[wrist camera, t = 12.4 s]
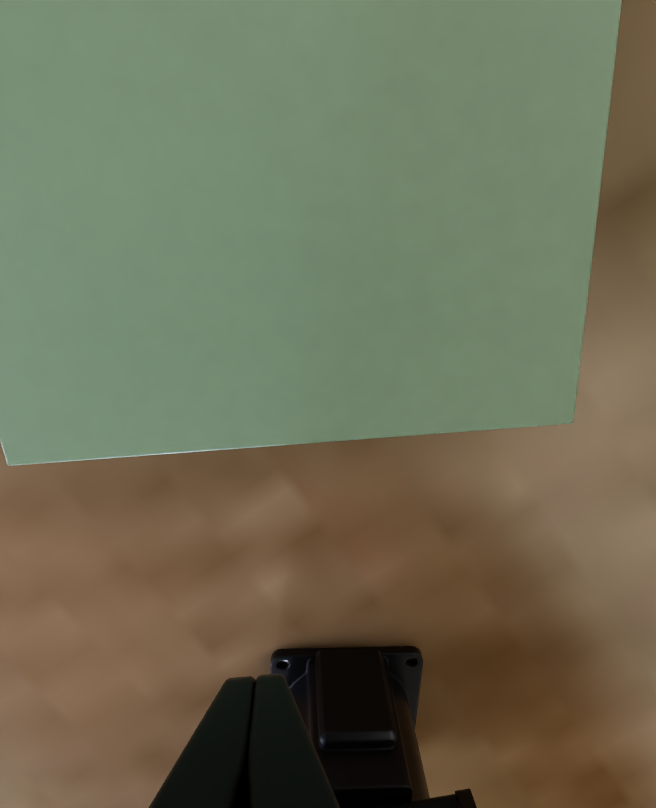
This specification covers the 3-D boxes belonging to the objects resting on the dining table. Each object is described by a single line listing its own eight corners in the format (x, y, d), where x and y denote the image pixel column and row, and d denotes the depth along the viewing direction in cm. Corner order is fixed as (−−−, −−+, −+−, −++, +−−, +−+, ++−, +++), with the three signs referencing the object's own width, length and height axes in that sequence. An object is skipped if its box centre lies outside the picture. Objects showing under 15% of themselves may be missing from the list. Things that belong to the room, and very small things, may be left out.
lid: (-202, -322, 9) (-238, -358, 9) (642, -347, 10) (667, -383, 9) (19, 453, 15) (6, 466, 14) (561, 412, 15) (574, 423, 15)
